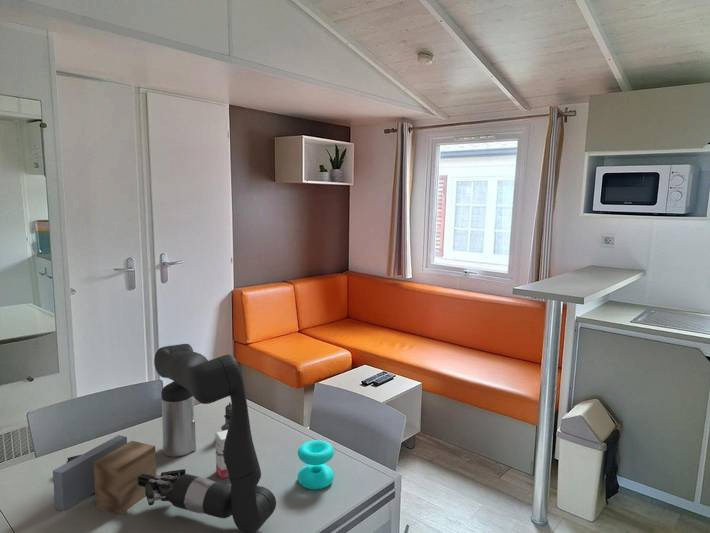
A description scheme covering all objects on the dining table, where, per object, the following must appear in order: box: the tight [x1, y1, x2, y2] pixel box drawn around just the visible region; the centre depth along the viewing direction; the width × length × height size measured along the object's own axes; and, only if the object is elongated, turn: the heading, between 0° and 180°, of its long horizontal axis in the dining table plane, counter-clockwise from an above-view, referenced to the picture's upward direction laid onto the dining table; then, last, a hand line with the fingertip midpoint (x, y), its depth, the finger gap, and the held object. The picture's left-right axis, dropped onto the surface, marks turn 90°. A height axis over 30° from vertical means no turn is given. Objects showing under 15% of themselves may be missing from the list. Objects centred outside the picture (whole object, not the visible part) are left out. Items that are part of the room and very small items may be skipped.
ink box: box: [214, 430, 229, 480], centre depth 134 cm, size 8×5×12 cm, turn 123°
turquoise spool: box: [297, 439, 335, 490], centre depth 130 cm, size 10×10×10 cm
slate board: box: [52, 434, 128, 512], centre depth 125 cm, size 3×20×10 cm, turn 160°
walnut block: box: [94, 440, 157, 516], centre depth 121 cm, size 8×12×12 cm, turn 160°
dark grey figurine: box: [220, 402, 232, 431], centre depth 155 cm, size 6×6×12 cm
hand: (140, 479), depth 120 cm, fingers closed
